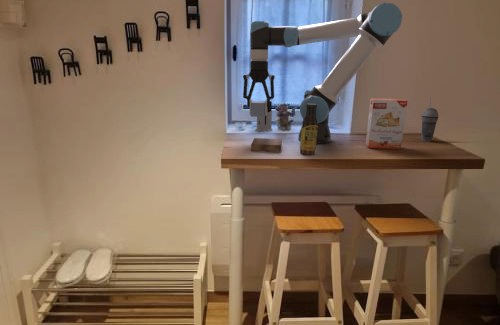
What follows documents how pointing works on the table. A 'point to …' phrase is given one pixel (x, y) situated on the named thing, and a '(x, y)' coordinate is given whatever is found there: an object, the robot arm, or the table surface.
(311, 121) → the sauce bottle
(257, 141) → the walnut base
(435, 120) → the beverage cup
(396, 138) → the cracker box
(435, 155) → the table surface
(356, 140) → the table surface
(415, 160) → the table surface
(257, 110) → the grey cube
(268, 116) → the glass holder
